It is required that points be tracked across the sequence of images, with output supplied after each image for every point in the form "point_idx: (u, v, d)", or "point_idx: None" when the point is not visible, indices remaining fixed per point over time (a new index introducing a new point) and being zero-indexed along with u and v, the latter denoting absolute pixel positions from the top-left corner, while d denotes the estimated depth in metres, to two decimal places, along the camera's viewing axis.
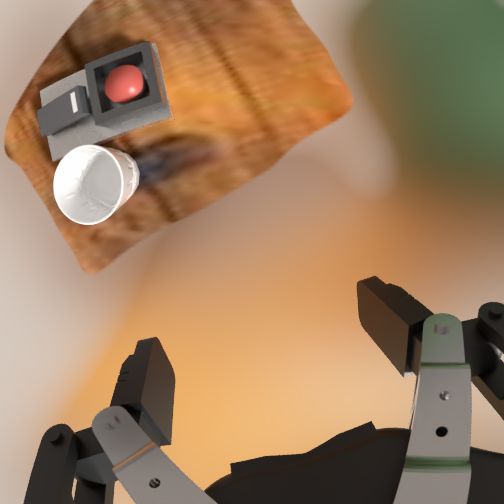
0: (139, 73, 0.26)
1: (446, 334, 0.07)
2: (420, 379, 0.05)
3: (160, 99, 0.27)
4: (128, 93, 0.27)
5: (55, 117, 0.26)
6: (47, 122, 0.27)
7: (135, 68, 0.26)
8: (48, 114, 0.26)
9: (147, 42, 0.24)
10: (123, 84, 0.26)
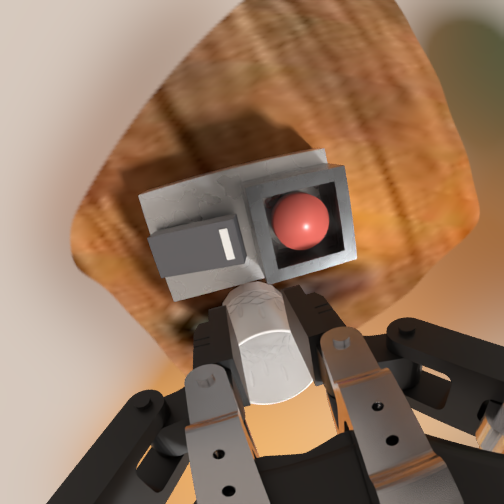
0: (324, 210, 0.23)
1: (340, 349, 0.08)
2: (344, 399, 0.05)
3: (355, 255, 0.23)
4: (309, 238, 0.23)
5: (189, 258, 0.23)
6: (172, 261, 0.23)
7: (319, 202, 0.23)
8: (173, 249, 0.23)
9: (342, 168, 0.21)
10: (302, 223, 0.23)
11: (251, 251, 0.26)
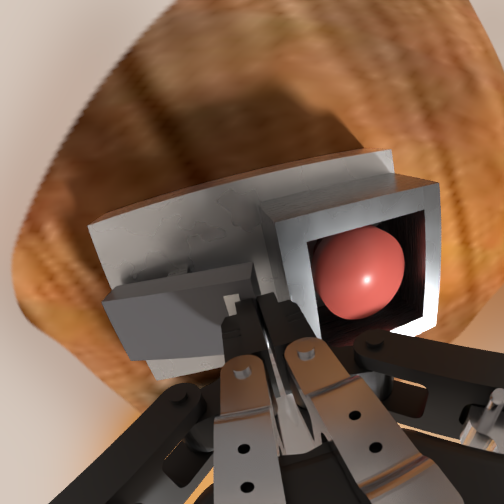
0: (400, 255, 0.13)
1: (303, 360, 0.08)
2: (319, 412, 0.05)
3: (434, 321, 0.13)
4: (373, 300, 0.13)
5: (173, 337, 0.13)
6: (146, 340, 0.13)
7: (393, 241, 0.13)
8: (145, 322, 0.13)
9: (436, 187, 0.11)
10: (365, 279, 0.13)
11: None
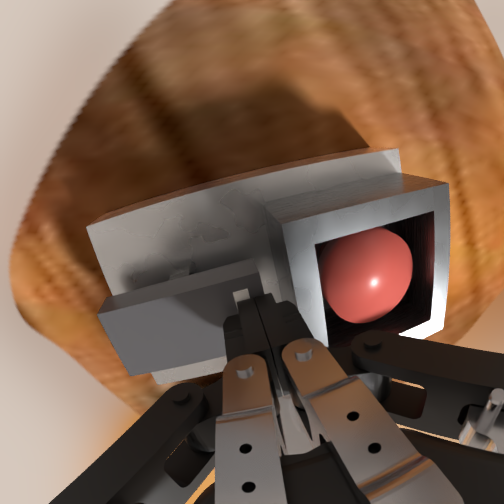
0: (408, 257, 0.12)
1: (301, 361, 0.08)
2: (317, 413, 0.05)
3: (441, 324, 0.13)
4: (380, 304, 0.13)
5: (178, 343, 0.12)
6: (148, 351, 0.12)
7: (402, 243, 0.12)
8: (147, 331, 0.12)
9: (445, 188, 0.11)
10: (373, 281, 0.13)
11: None
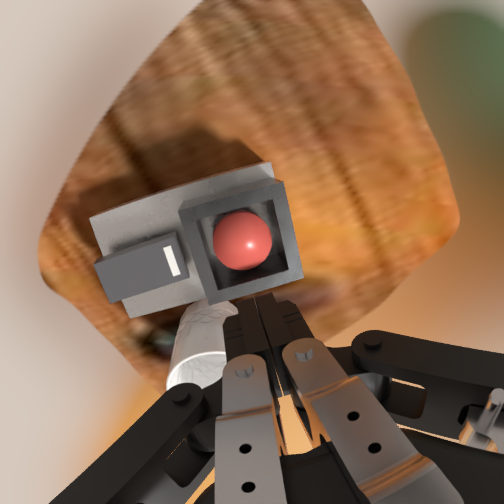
0: (266, 229, 0.23)
1: (301, 361, 0.08)
2: (317, 413, 0.05)
3: (301, 274, 0.23)
4: (251, 258, 0.23)
5: (136, 279, 0.23)
6: (120, 285, 0.22)
7: (259, 220, 0.22)
8: (120, 272, 0.22)
9: (280, 184, 0.21)
10: (242, 243, 0.23)
11: None
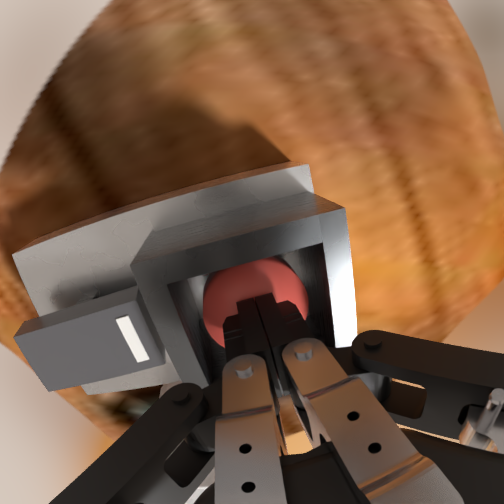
0: (300, 289, 0.12)
1: (301, 361, 0.08)
2: (317, 412, 0.05)
3: None
4: None
5: (80, 363, 0.12)
6: (57, 369, 0.12)
7: (289, 274, 0.12)
8: (53, 352, 0.11)
9: (340, 214, 0.10)
10: None
11: None
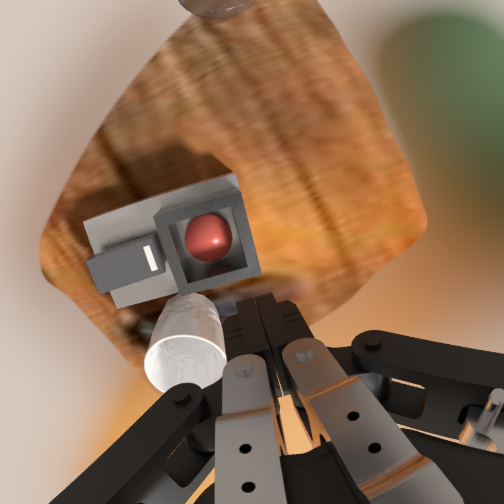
0: (227, 228, 0.28)
1: (301, 361, 0.08)
2: (317, 412, 0.05)
3: (259, 271, 0.27)
4: (216, 252, 0.28)
5: (121, 273, 0.26)
6: (108, 278, 0.26)
7: (221, 221, 0.27)
8: (107, 268, 0.26)
9: (238, 194, 0.25)
10: (208, 240, 0.28)
11: None
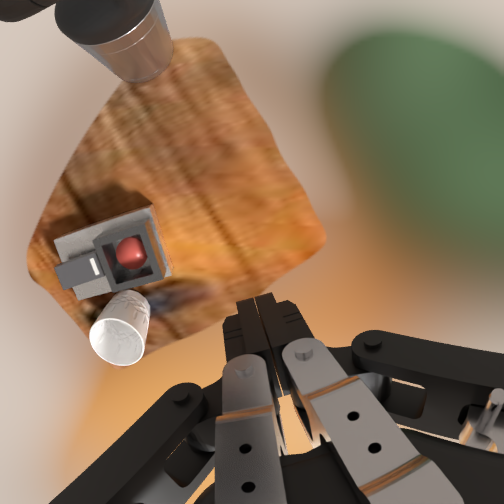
0: (143, 246, 0.38)
1: (301, 361, 0.08)
2: (317, 412, 0.05)
3: (161, 277, 0.37)
4: (136, 262, 0.39)
5: (76, 276, 0.37)
6: (68, 279, 0.37)
7: (139, 242, 0.38)
8: (68, 272, 0.36)
9: (143, 225, 0.35)
10: (131, 254, 0.38)
11: None
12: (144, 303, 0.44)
